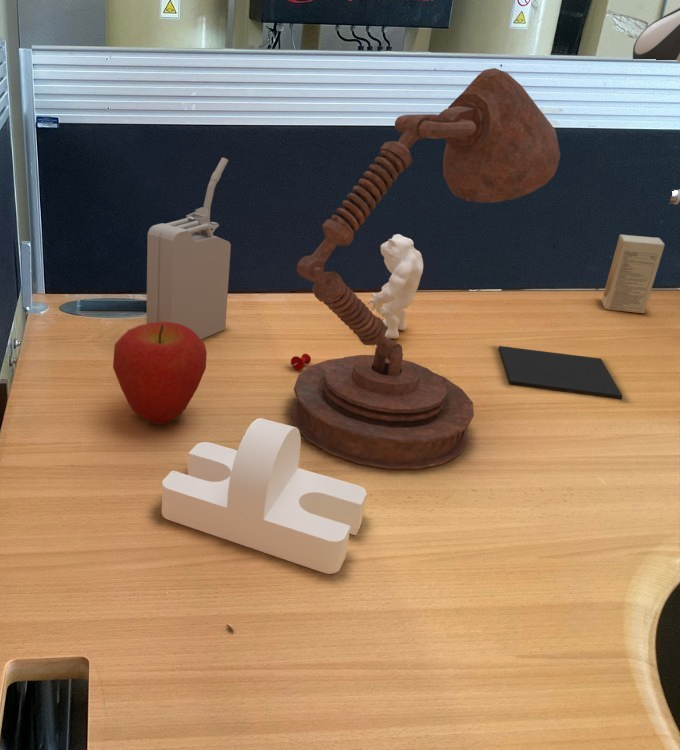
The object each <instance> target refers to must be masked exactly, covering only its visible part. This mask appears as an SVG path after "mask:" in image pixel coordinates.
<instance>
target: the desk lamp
mask: <svg viewBox="0 0 680 750" xmlns="http://www.w3.org/2000/svg"><path fill="white" fill-rule="evenodd" d="M394 128H395V129H396V130H397V132H398V133H402V134H401V135H400V137H399V139H398V141H392V140H391V141H385V142H384V143H383V144H382V146H381V147H380V149H379V150H380V151H379V154H380V156H377V157H375V158H374V161H375V164H374V163H372V164H370V165H369V166H368V170H366V171H365V172H364V173H363V176H364V178H359V180H358V181H357V182H358V183H357V184H358V185H354V186H352V192H350V193H347V195H346V198H347V200H342V203H341V207H337V208H336V214H337V215H336V214H332V215H331V217H330V218H328V219H326V220H325V221H324V222H323V224H322V226H321V228H322V231H323V234H324V239H323V240H322V242H321V243H320V244H319V245H318V247H317V248H316V249H315V250H314V252H313V253H312V254H311V255H306V256H303V257H301V258H300V260H299V261H298V262H297V264H296V273H298V275H299V276H300V277H302V278H304V279H305V280H307V281H310V282H313V286H312V288H311V292H312V293H313V295H314V297H315V298H316V299H317V300H318V301H319V302H320V303H322V302H323V305H326V306H327V307H328V309H329V310H330V311H331V312H332V313H333V314H335V315H336V317H337V318H338V319H339V320H340V321H341V322H342V323H344V324H345V326H346V327H348V328H349V330H351V331H352V332H353V334H355V335H356V336H357V337H358V340H359V341H360V342H361V343H362V345H364V346H375V345H376V347H375V350H374V354H357V355H349V356H343V357H340V358H333V359H332V358H331V359H327V360H323V361H320V362H318V363H315V364H312V365H309V366H308V367H307V368H305V369H303V371H302V372H300V373H299V374H298V375H297V378H296V380H295V384H294V387H293V391H294V394H295V397H296V399H294V401H293V405H292V408H291V411H290V415H291V418H292V422H293V424H294V427H296V428H298V429H299V432H300V435H302V436H303V437H304V438H305V439H306V440H307V441H308V442H309V443H310V444H313V445H314V446H316V447H317V448H319V449H320V450H323V451H324V452H326V453H327V454H329V455H332V456H335V457H337V458H341V459H343V460H346V461H349V462H351V463H354V464H357V465H362V466H369V467H374V468H380V469H386V470H421V469H422V470H423V469H427V468H431V467H436V466H442V465H444V464H446V463H448V462H449V461H450V462H451V460H453V459H455V458H457V457H459V456H460V455H461V454H462V452H463V451H464V449H465V447H466V446H467V444H468V443H469V440H468V439H469V438H468V429H467V428H468V427H469V425H470V424H471V422H472V421H473V418H474V417H475V411H474V403H473V400H471V398H470V397H469V396H468V395H467V394H466V392H465V391H464V390H463V389H462V388H461V387H460V386H458V385H457V384H455V383H454V382H452V381H451V380H449V379H448V378H447V377H445V376H443V375H440V374H438V373H436V372H433V371H432V370H431V369H429V368H427V367H425V366H422V365H420V364H418V363H416V362H414V361H410V360H406V359H403V357H404V356H403V355H404V353H403V348H402V347H403V346H402V345H401V344H399V343H398V342H396V341H394V340H392V339H391V338H387V337H386V336H385V333H386V331H387V330H388V326H385V324H384V323H383V319H382V318H380V317H378V316H377V315H375V314H374V313H373V311H372V310H370V309H369V307H368V306H367V305H366V304H365V302H363V300H362V299H361V298H359V297H358V296H357V295H356V293H354V291H353V290H352V289H351V288H350V287H349V286H348V285H347V284H346V283H345V282H344V281H343V279H342V277H341V276H340V274H338V273H337V271H324V270H325V264H326V262H327V261H328V259H329V257H330V256H331V255H332V254H333V252H334V250H335V249H336V247H337V246H350V244H351V243H352V242H353V241H354V238H355V237H354V235H355V233H356V232H358V230H359V229H360V226H361V225H364V222H365V220H366V218H368V217H369V216H370V214H371V211H373V210H374V209H375V208H376V204H379V203H380V202H381V200H382V199H383V198H382V197H383V196H385V195H386V194H387V193H388V190H389V189H390V188H391V187H392V186H393V182H396V181H398V177H399V175H400V174H401V173H403V171H404V170H405V169H408V168H409V167H410V165H411V164H412V163H413V158H412V154H411V152H410V149H411V148H412V146H413V145H414V144H415V143H416V142H417V141H418V140H425V139H432V140H439V139H440V140H441V139H445V140H446V144H445V147H444V151H443V159H442V170H443V172H442V173H443V177H444V180H445V182H446V185H447V187H448V189H449V191H450V192H451V193H452V195H454V196H455V197H457V198H459V199H461V200H464V201H466V202H474V203H487V204H488V203H500V202H505V201H510V200H511V201H512V200H516V199H518V198H521V197H523V196H526V195H530V194H531V193H533V192H535V191H537V190H538V189H540V188H542V187H544V186H545V185H546V184H547V183H548V182H549V181H550V180H551V179H553V177H554V176H555V175H556V171H557V170H558V167H559V163H560V159H561V151H560V145H559V141H558V136H557V132H556V129H555V127H554V126H553V124H552V123H551V121H549V119H548V118H547V117H546V115H545V114H544V113H543V112H542V110H541V109H540V107H539V106H538V105H537V104H536V103H535V101H534V100H533V98H532V97H531V96H530V94H529V93H528V92H527V90H526V89H525V88H524V87H523V85H521V84H520V83H519V82H518V81H517V80H516V79H515V78H514V77H512V76H511V75H510V74H509V73H508V72H506V71H503V70H501V69H498V68H495V67H494V68H487V69H483V70H482V71H481V72H480V73H479V74H478V75H477V76H476V77H475V78H474V79H473V80H472V81H471V82H470V84H468V86H467V87H466V88H465V89H464V90H463V91H462V93H461V94H459V96H457V98H456V99H454V101H453V102H451V104H450V105H448V107H447V108H445V109H443V110H442V111H441V112H440V113H438V114H433V113H422V114H419V113H418V114H404V115H400V116H398V117H396V119H395V121H394Z"/></svg>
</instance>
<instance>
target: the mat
mask: <svg viewBox="0 0 680 750" xmlns="http://www.w3.org/2000/svg"><path fill="white" fill-rule="evenodd" d="M498 351H499V354H500V357H501V358H500V359H501V361H502V364H503V367H504V371H505V374H506V376H507V381H508V384H509V385H516V386H523V387H531V388H537V389H545V390H554V391H558V392H559V391H561V392H568V393H575V394H582V395H583V394H584V395H590V396H597V397H603V398H605V397H607V398H613V399H620V400H621V399H622V398H623V394H622V393H621V390H620V389H619V387H618V385H617V383H616V382H615V380H614V378H613V377H612V375H611V374H610V372H609V370H608V368H607V367H606V365H605V363H604V362H603V359H602V358H599V357H592V356H585V355H584V356H583V355H575V354H569V353H568V354H567V353H559V352H551V351H542V350H536V349H528V348H520V347H519V348H518V347H511V346H504V345H503V346H502V345H499V346H498Z"/></svg>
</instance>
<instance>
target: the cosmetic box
mask: <svg viewBox="0 0 680 750" xmlns="http://www.w3.org/2000/svg"><path fill="white" fill-rule="evenodd" d="M664 248H665V243H664V241H663V240H662V239H661V238H660V237H654V236H653V237H652V236H651V237H650V236H641V235H632V234H631V235H630V234H620V233H619V236H618V240H617V244H616V247H615V251H614V255H613V259H612V262H611V264H610V265H611V266H610V269H609V272H608V277H607V280H606V283H605V287H604V291H603V293H602V294H603V295H602V299H601V303H602V306H603V308H604V309H605V310H611V311H617V312H627V313H637V314H645V312H646V308H647V306H648V302H649V299H650V295H651V292H652V289H653V285H654V282H655V279H656V275H657V272H658V269H659V265H660V262H661V258H662V256H663V252H664Z"/></svg>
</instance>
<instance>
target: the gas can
mask: <svg viewBox="0 0 680 750" xmlns="http://www.w3.org/2000/svg"><path fill="white" fill-rule="evenodd" d="M228 163H229V159H228V158H225V157H221V159H220V160H219V162H218V163H217V166H216V168H215V170H214V171H213V172H212V174H211V177H210V180H209V182H208V184H207V188H206V192H205V197H204V201H203V207H199V208H195V209H194V210H195V211H193V212H192V213H189V214H186V217H185V218H181V219H178V220H175V221H170V222H167V223H157V224H154V225H152V226H151V227H149V229H148V232H147V242H146V243H147V246H146V247H147V248H146V252H147V257H146V319H145V320H146V323H145V324H149V323H155V322H172V323H177V324H181V325H183V326H185V327H187V328H189V329H191V330H192V331H193V332H194V333H195V334H196V335H197V336H198V337H199V338H200V339H201V340H204V339H205V338H208V337H210V336H212V335H215V334H216V333H219V332H221V331H223V330H224V329H225V327H226V324H227V311H228V296H229V295H228V294H229V293H228V292H229V278H230V266H231V265H230V264H231V263H230V262H231V250H232V249H231V247H232V245H231V243H230V241H228V240H225V239H224V238H221V237H218V236H216V235H214V232H215V230H216V229H217V228H218V227H220V224H219V223H218V222H215V221H211V206H212V203H213V198H214V193H215V188H216V186H217V184H218V182H219V181H220V179H221V177H222V174H223V172H224V170H225V168H226V166H227V164H228Z"/></svg>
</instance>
